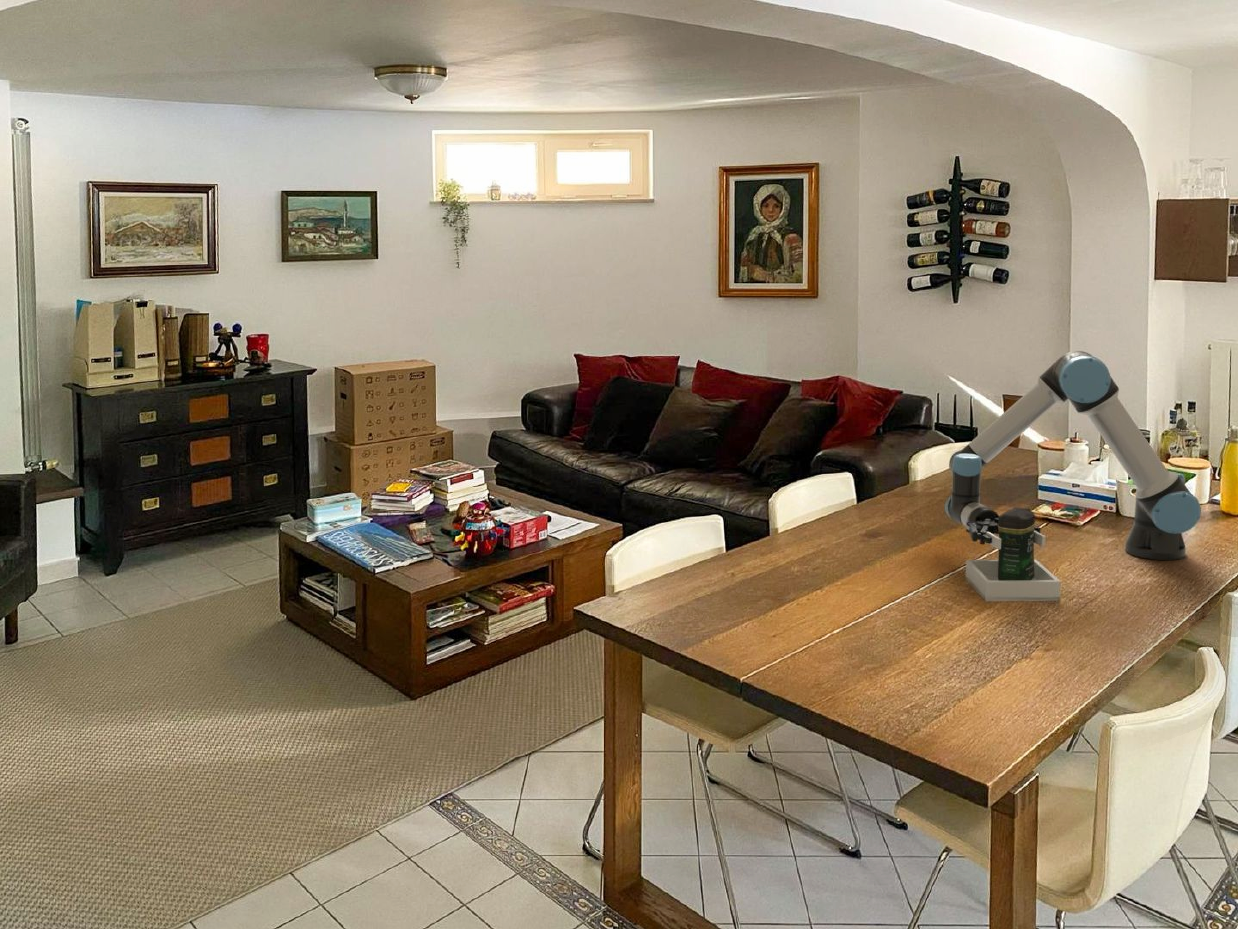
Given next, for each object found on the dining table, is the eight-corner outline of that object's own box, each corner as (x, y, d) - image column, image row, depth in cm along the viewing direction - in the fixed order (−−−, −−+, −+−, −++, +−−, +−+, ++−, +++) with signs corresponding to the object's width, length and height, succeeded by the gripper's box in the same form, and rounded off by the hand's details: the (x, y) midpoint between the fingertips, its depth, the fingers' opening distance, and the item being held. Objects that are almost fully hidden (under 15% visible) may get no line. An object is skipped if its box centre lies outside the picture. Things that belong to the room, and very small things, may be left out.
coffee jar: (1025, 588, 267) (1025, 516, 263) (993, 583, 272) (993, 513, 268) (1039, 576, 274) (1039, 507, 270) (1008, 572, 279) (1008, 503, 275)
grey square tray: (1034, 577, 281) (1035, 559, 280) (1059, 600, 263) (1060, 581, 262) (965, 578, 282) (966, 560, 281) (985, 601, 264) (986, 582, 263)
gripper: (1021, 530, 289) (1064, 554, 268) (938, 535, 286) (976, 560, 265) (1022, 504, 288) (1066, 525, 266) (940, 508, 285) (977, 531, 263)
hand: (1021, 542), depth 266 cm, fingers open, 11 cm apart
